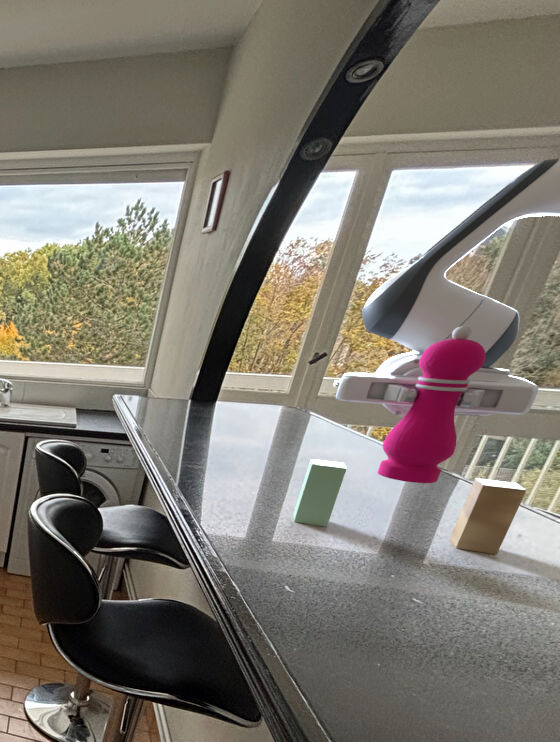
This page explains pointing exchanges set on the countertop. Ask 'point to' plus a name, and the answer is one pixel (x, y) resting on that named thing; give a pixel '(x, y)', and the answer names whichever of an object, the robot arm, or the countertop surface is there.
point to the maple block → (487, 515)
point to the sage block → (319, 492)
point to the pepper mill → (432, 411)
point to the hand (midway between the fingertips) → (438, 398)
